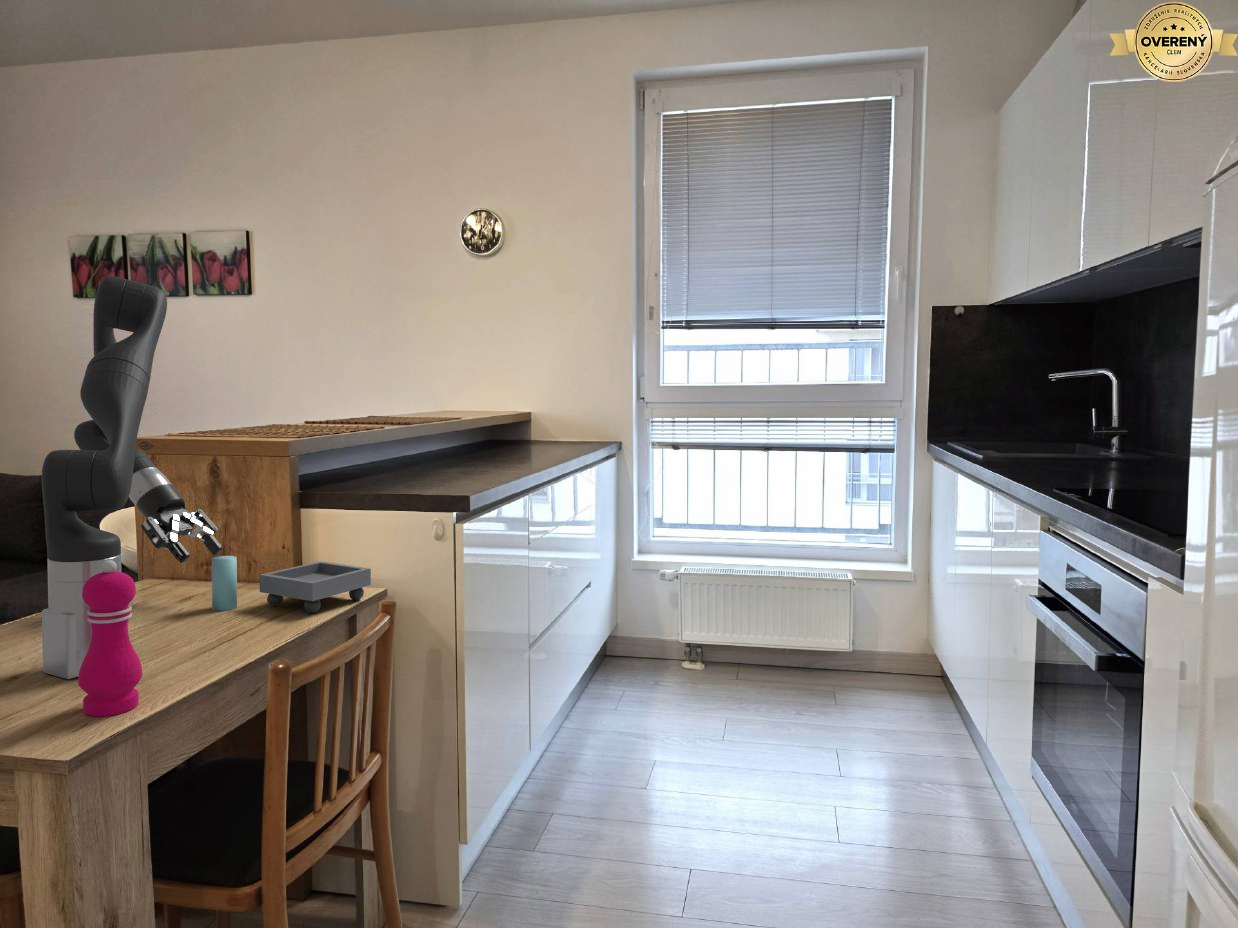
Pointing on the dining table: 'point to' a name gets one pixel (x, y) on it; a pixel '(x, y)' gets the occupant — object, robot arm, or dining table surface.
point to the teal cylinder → (224, 583)
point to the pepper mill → (109, 645)
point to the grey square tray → (314, 583)
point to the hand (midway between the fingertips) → (202, 555)
